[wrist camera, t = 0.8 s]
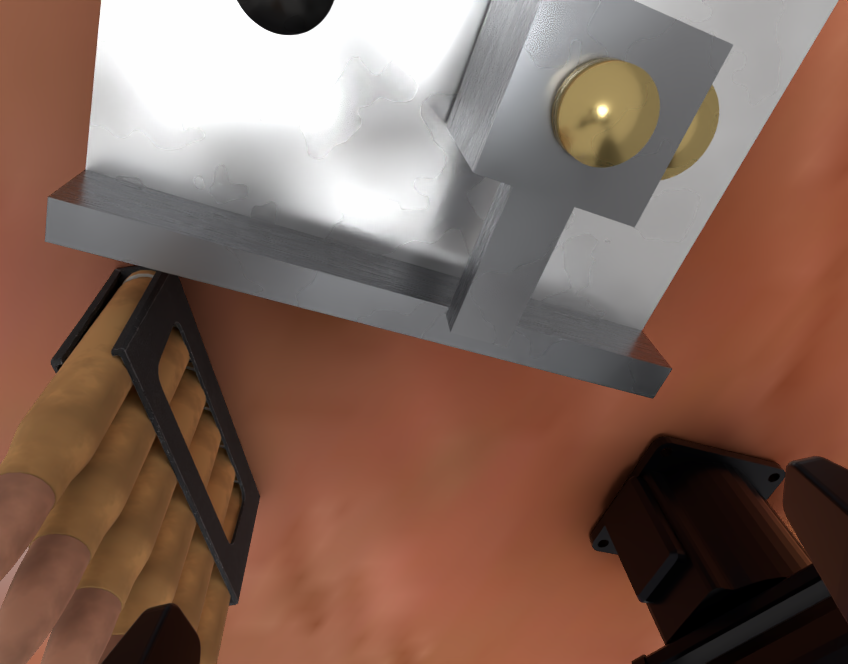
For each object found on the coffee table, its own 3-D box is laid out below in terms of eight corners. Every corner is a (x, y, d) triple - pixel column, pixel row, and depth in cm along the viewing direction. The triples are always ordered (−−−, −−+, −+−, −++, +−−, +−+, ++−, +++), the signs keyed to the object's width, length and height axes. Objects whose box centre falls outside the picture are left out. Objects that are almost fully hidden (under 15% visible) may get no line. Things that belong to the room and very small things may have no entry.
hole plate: (838, -44, 17) (940, -47, 14) (614, 343, 23) (653, 398, 20) (155, -396, 12) (94, -509, 10) (94, 198, 18) (44, 241, 15)
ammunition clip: (113, 267, 19) (-158, 599, 9) (171, 258, 19) (-34, 578, 9) (215, 505, 25) (116, 880, 15) (260, 498, 25) (194, 867, 15)
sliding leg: (640, 27, 16) (750, 47, 12) (515, 294, 20) (561, 388, 15) (502, -34, 15) (564, -36, 11) (397, 260, 19) (410, 350, 14)
